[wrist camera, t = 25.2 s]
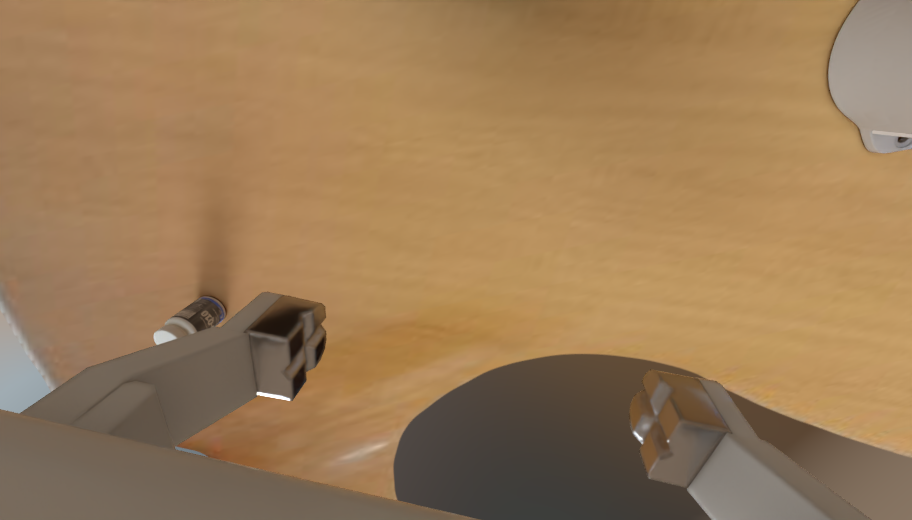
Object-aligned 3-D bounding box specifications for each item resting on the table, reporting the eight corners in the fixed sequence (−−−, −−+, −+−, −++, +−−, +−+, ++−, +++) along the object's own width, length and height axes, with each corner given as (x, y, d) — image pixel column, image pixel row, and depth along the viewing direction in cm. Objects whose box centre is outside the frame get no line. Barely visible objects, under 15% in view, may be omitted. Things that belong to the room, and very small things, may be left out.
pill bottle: (230, 322, 58) (188, 358, 50) (202, 319, 58) (157, 354, 51) (222, 296, 56) (177, 330, 48) (193, 293, 56) (145, 326, 49)
